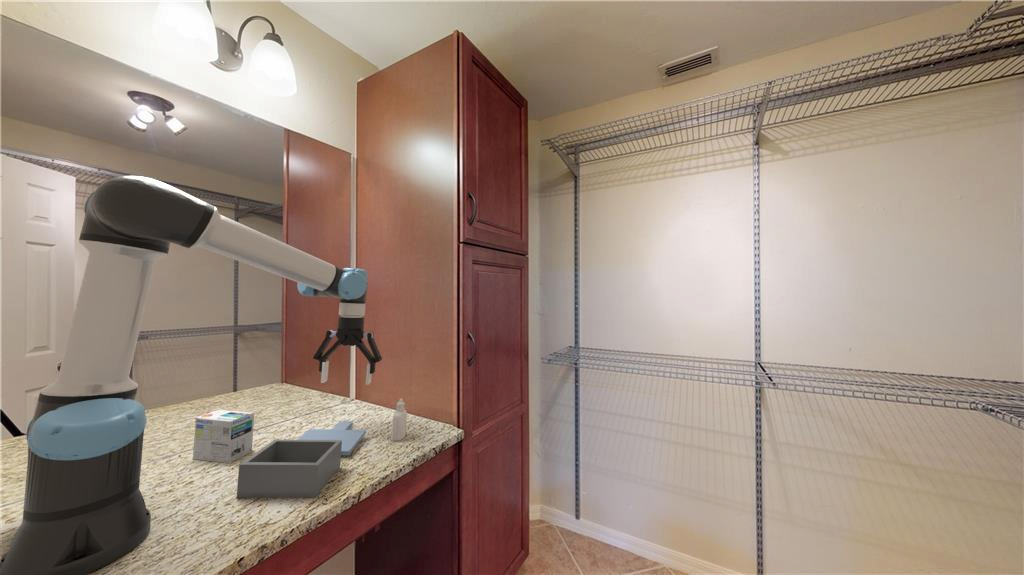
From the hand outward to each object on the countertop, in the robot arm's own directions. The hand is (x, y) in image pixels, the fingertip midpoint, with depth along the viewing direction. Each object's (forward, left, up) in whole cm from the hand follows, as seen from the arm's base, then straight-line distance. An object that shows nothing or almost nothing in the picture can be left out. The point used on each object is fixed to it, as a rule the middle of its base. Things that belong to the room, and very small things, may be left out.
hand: (346, 383), depth 103 cm
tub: (0, -28, -15) cm, 32 cm away
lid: (0, -8, -16) cm, 17 cm away
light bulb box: (-24, -16, -16) cm, 33 cm away
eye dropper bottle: (+18, -4, -16) cm, 24 cm away
